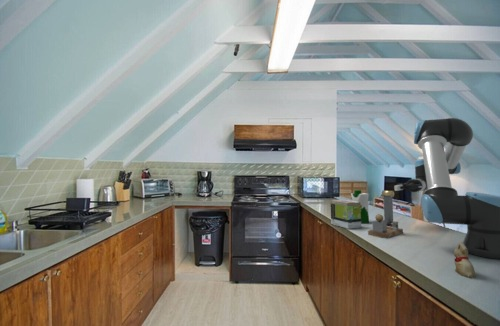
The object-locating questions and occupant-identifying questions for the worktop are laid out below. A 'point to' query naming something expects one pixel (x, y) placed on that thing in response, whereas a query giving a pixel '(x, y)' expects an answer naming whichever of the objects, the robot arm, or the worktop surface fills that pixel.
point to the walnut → (379, 217)
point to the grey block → (380, 226)
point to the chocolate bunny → (463, 262)
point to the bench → (388, 231)
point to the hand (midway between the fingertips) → (395, 188)
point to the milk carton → (362, 204)
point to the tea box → (346, 213)
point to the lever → (388, 206)
